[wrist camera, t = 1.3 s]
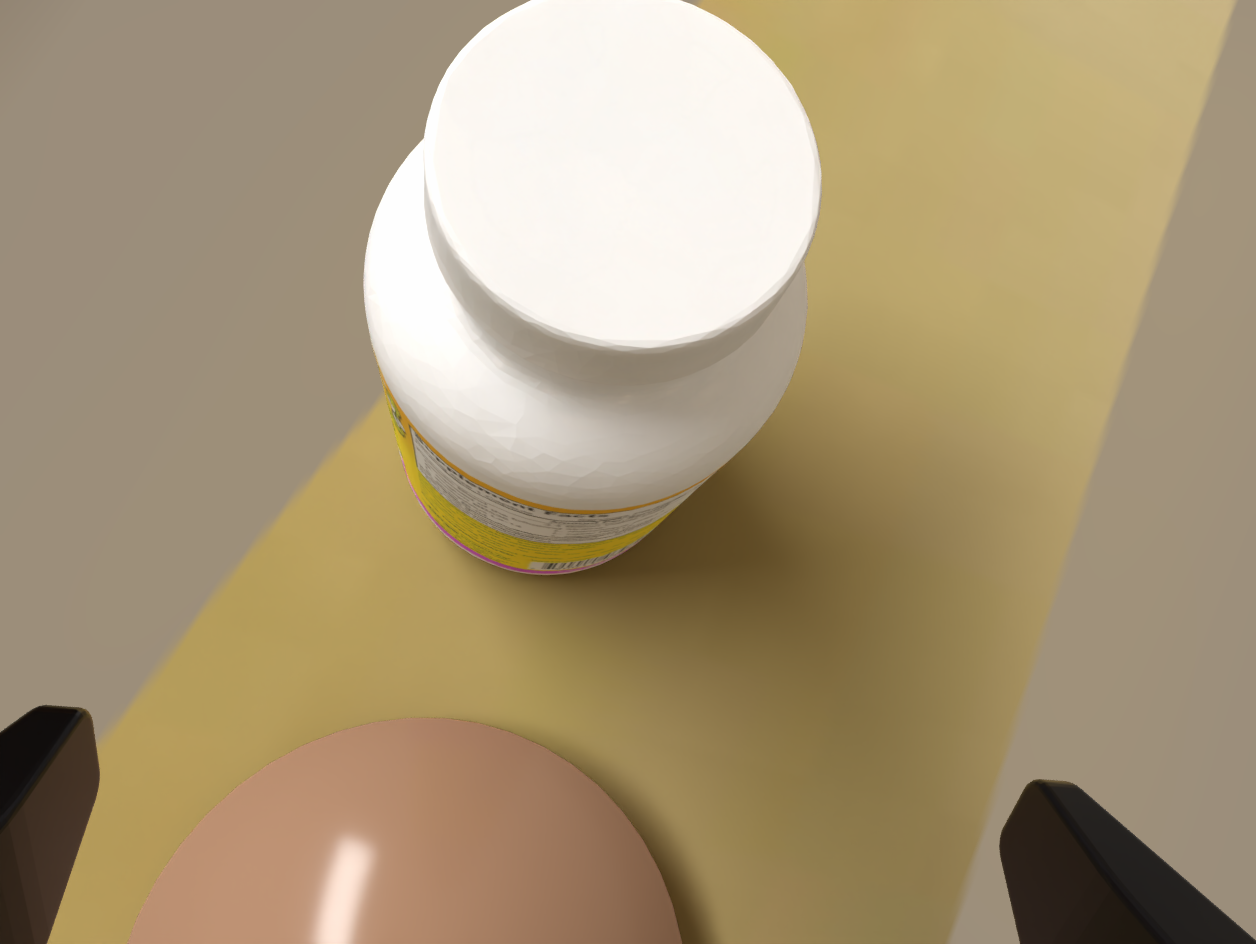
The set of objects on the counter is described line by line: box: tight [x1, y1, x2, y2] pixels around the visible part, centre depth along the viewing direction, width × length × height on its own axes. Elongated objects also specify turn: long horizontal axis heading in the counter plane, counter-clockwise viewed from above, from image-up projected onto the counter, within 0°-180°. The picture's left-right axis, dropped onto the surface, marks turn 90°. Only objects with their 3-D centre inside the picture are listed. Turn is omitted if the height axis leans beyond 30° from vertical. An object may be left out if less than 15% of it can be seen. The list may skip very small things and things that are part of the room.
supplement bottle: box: [364, 0, 822, 575], centre depth 18 cm, size 7×7×13 cm
